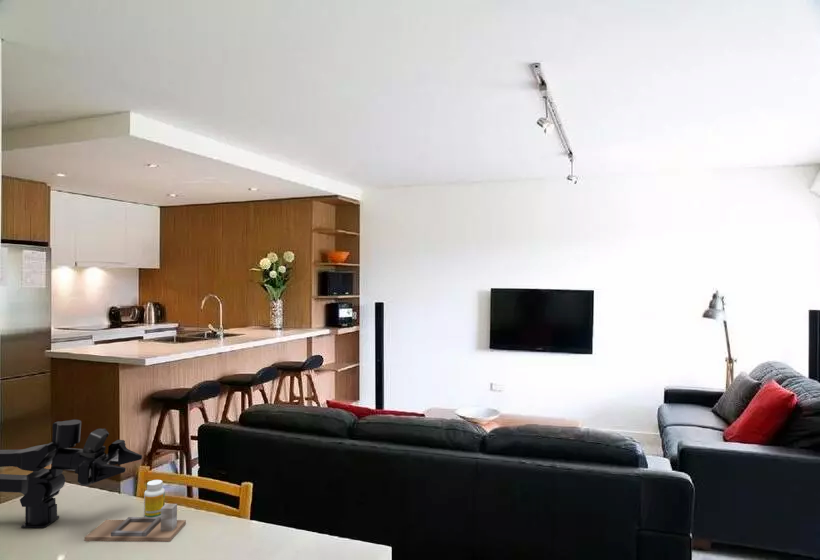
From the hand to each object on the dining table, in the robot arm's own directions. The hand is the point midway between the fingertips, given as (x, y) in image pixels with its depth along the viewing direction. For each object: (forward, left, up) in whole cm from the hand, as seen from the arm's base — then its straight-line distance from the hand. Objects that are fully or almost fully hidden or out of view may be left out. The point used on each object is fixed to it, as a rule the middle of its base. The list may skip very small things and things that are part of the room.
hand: (133, 463), depth 149 cm
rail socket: (+4, -5, -16) cm, 18 cm away
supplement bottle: (+4, +5, -17) cm, 18 cm away
